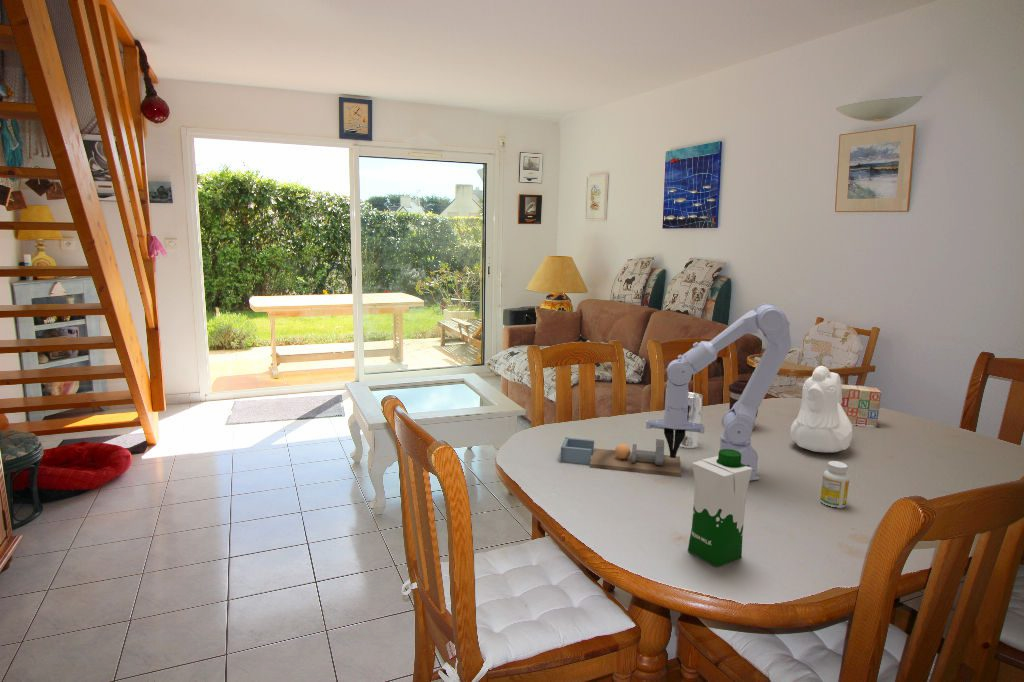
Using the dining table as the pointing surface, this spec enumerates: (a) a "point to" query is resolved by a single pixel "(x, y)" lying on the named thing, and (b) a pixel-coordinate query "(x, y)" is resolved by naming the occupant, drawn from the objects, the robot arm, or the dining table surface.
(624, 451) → the ball
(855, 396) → the stack of blocks
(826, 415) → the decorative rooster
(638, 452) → the grey h-shaped block
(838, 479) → the supplement bottle
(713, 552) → the milk carton
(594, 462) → the launcher board
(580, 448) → the cup
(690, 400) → the silver soda can
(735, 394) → the coffee cup
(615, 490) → the dining table surface
